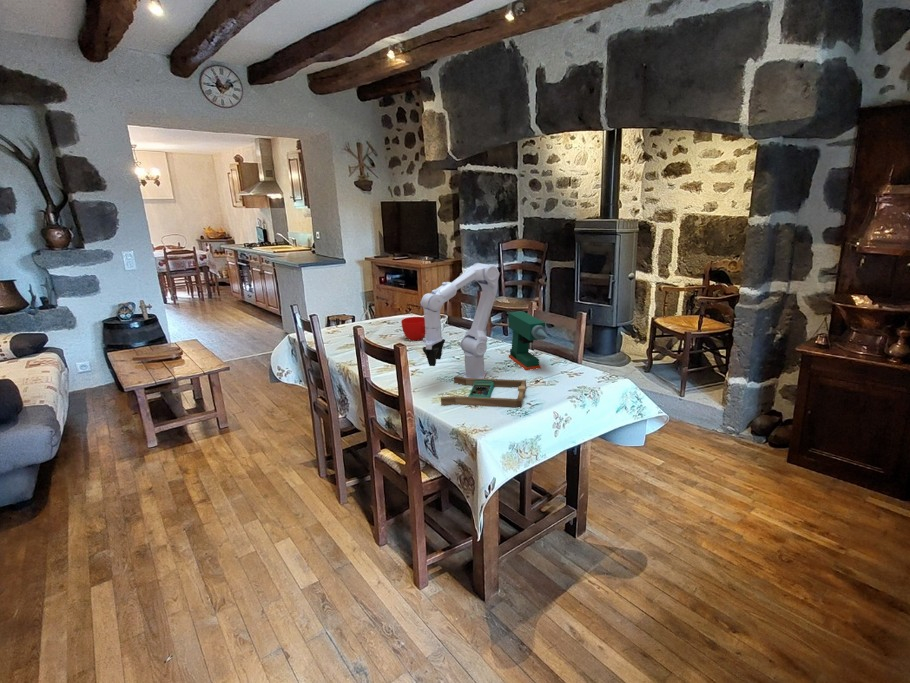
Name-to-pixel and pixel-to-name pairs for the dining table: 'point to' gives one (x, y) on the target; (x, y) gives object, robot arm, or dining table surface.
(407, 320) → the ceramic cup
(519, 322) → the power tool
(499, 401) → the pocket
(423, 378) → the dining table surface
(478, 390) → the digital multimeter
